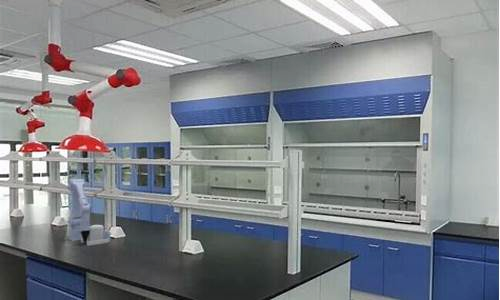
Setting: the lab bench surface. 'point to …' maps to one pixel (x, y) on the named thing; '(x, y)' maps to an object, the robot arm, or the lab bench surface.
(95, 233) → the photo printer
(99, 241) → the display stand
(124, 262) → the lab bench surface
